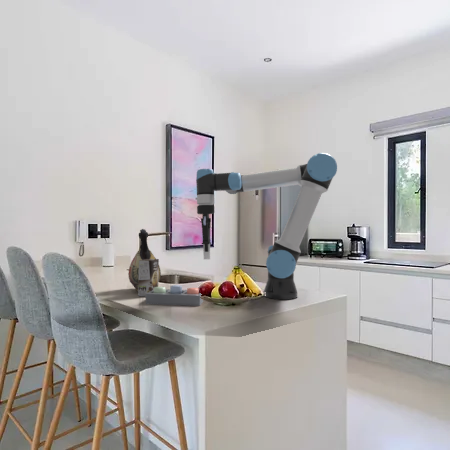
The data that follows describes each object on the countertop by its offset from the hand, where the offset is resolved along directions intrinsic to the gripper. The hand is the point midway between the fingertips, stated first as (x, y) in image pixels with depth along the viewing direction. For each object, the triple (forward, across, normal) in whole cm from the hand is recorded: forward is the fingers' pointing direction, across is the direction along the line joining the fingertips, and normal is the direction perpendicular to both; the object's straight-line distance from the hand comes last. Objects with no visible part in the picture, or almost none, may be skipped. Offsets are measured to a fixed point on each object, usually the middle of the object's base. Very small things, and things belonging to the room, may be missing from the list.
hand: (206, 259), depth 153 cm
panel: (+17, +7, -12) cm, 22 cm away
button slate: (+14, +7, -12) cm, 20 cm away
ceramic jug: (+16, -17, -33) cm, 40 cm away
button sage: (+15, +7, -20) cm, 25 cm away
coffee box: (+16, -7, -28) cm, 33 cm away
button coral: (+16, +7, -6) cm, 18 cm away
